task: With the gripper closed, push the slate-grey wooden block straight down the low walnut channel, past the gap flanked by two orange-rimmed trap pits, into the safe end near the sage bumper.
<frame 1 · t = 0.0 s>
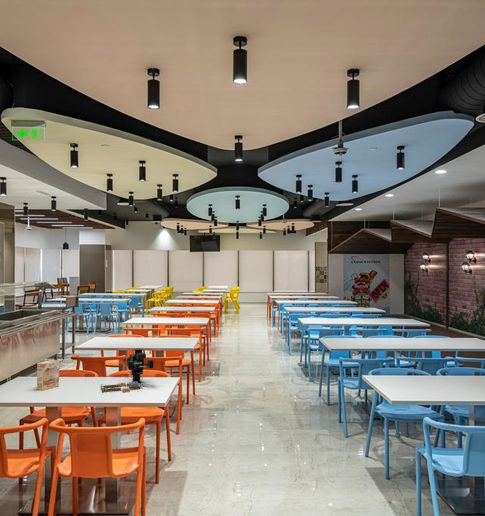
hand: (142, 366, 354), 17 cm above the table, tool horizontal, fingers open, 9 cm apart
finger box: (119, 388, 356), on the table
slate block: (133, 388, 359), on the table
coffeecake box: (48, 388, 358), on the table
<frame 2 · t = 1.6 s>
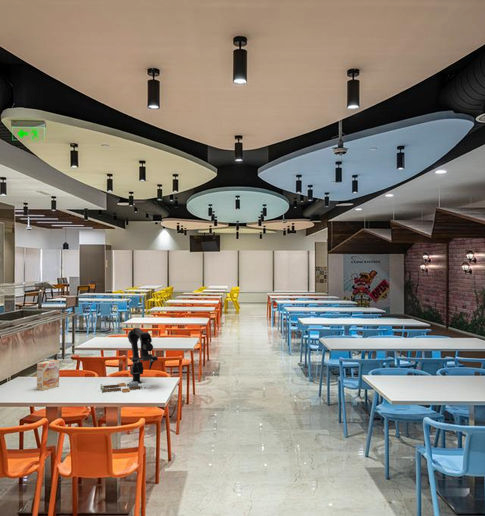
hand: (144, 370, 363), 12 cm above the table, tool pointing down, fingers open, 8 cm apart
nothing on the table moved.
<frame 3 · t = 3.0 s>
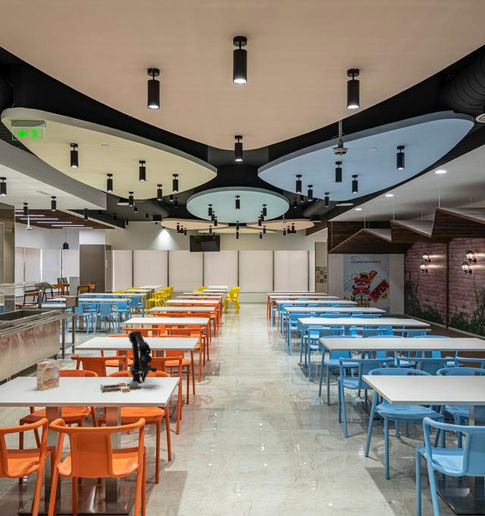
hand: (143, 381, 362), 4 cm above the table, tool pointing down, fingers closed
nothing on the table moved.
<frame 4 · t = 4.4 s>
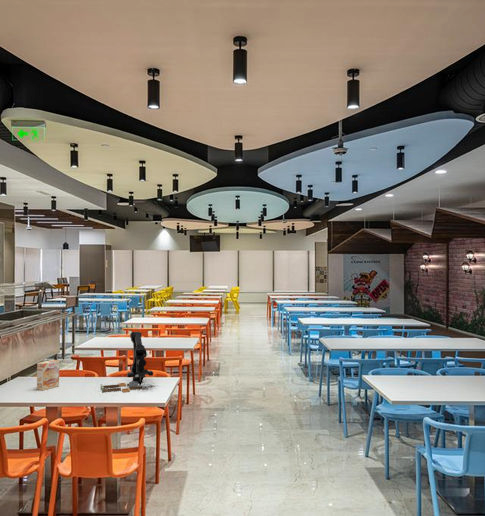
hand: (140, 385, 361), 1 cm above the table, tool pointing down, fingers closed
slate block: (133, 388, 359), on the table, touching gripper
everything else where it was.
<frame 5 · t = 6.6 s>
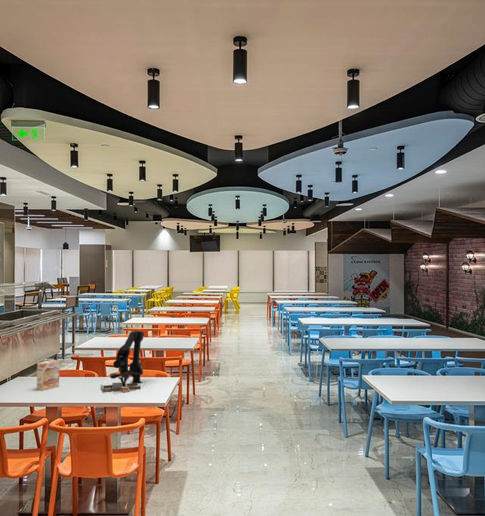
hand: (123, 386, 357), 1 cm above the table, tool pointing down, fingers closed
slate block: (116, 389, 355), on the table, touching gripper
everything else where it was.
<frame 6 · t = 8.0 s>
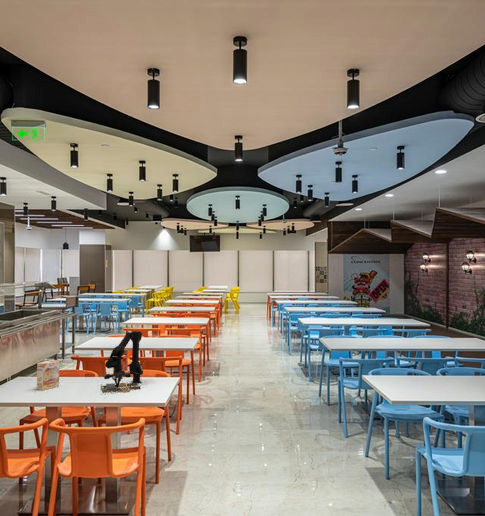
hand: (117, 387, 355), 1 cm above the table, tool pointing down, fingers closed
slate block: (110, 389, 353), on the table
everything else where it was.
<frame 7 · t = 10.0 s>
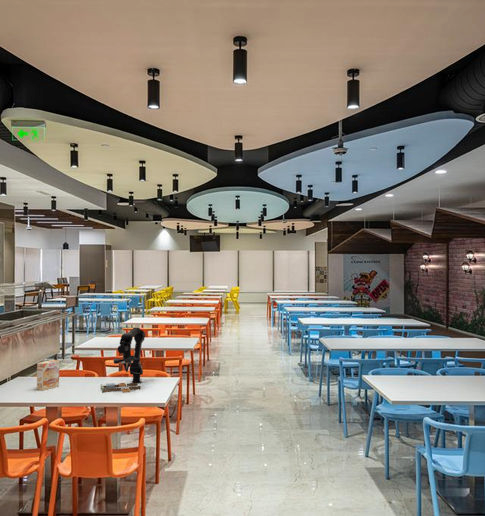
hand: (126, 372, 358), 12 cm above the table, tool pointing down, fingers closed
nothing on the table moved.
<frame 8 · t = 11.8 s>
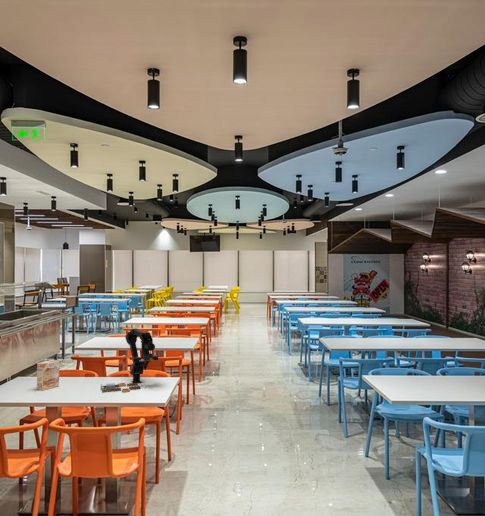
hand: (145, 369, 366), 12 cm above the table, tool pointing down, fingers closed
nothing on the table moved.
at the end: slate block inside the target area (0.6 cm from its centre), on the table; slate block tilted 0°; slate block touching table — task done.
